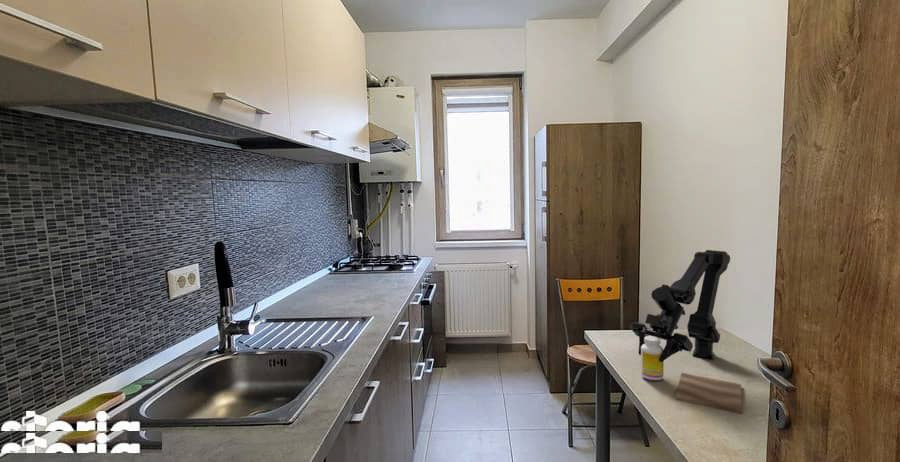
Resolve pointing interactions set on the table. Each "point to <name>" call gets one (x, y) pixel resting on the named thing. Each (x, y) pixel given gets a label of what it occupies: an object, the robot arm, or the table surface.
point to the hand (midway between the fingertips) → (649, 357)
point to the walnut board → (710, 392)
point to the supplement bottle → (651, 358)
